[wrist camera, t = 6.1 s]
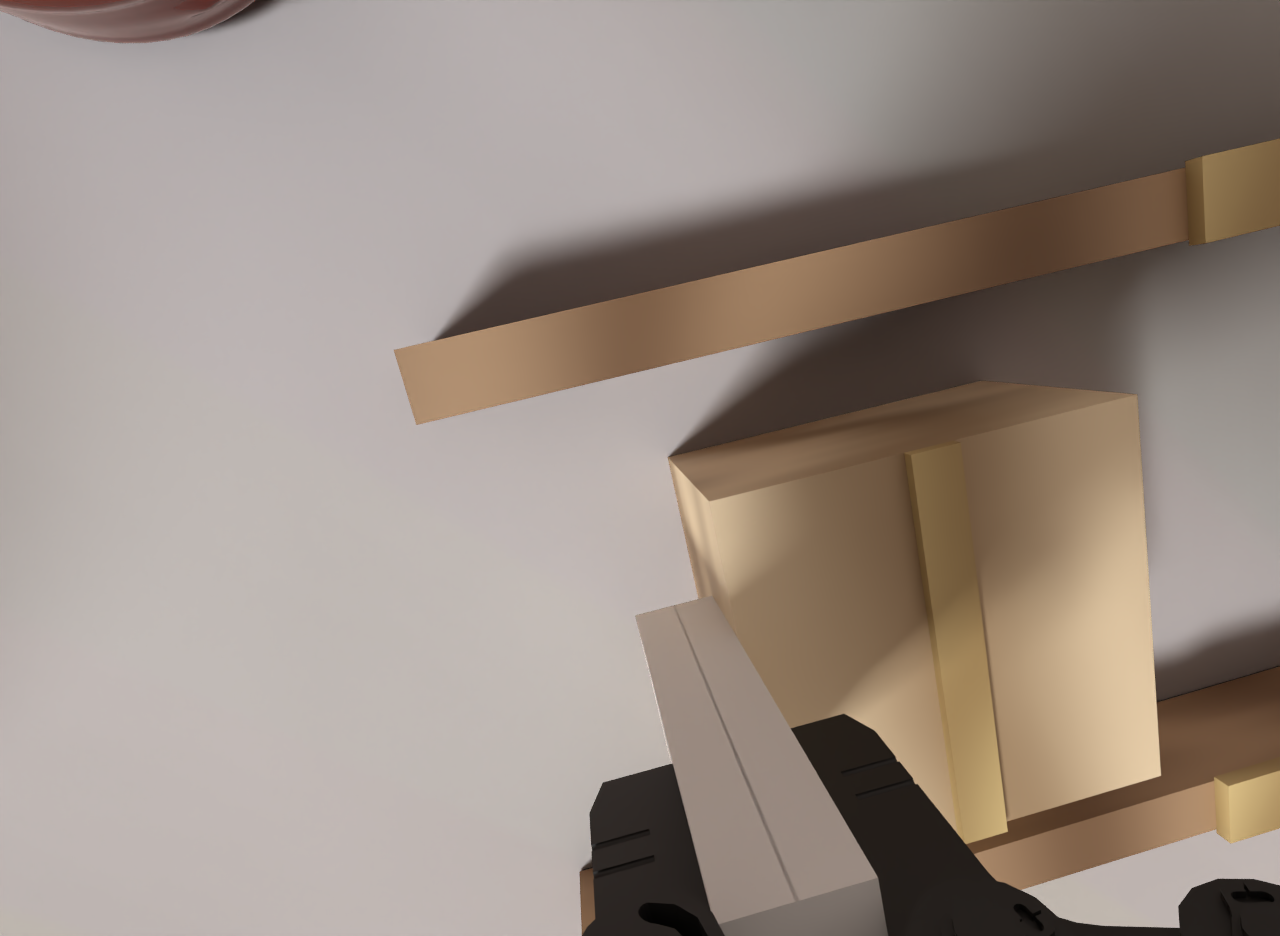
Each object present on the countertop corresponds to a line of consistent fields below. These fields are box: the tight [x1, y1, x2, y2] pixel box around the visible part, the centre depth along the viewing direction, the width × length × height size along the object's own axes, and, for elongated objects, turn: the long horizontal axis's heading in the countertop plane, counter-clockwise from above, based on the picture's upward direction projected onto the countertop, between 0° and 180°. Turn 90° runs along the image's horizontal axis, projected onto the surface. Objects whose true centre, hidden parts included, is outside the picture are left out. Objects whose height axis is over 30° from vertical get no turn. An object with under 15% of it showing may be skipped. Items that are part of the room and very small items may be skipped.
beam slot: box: [394, 139, 1280, 935], centre depth 13 cm, size 21×14×3 cm, turn 103°
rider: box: [668, 381, 1161, 844], centre depth 13 cm, size 7×7×4 cm
